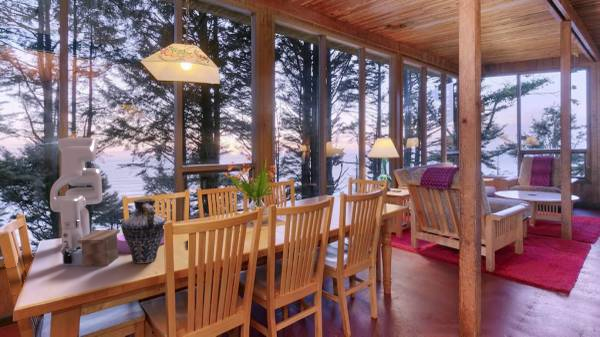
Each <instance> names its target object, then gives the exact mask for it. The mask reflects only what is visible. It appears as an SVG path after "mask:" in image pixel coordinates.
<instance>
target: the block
mask: <svg viewBox="0 0 600 337" xmlns="http://www.w3.org/2000/svg"><path fill="white" fill-rule="evenodd" d="M67 252H69V250H68V251H67ZM71 255H72V263H71V264H64V256H63V255H62V265H63V266H83V261H82V249H74V250H72V251H71Z"/></svg>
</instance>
